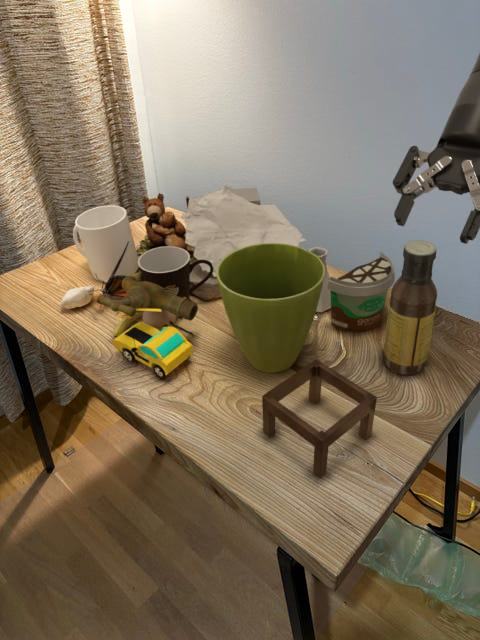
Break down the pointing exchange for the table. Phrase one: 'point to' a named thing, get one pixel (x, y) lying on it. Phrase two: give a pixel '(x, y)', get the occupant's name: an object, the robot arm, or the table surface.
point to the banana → (125, 324)
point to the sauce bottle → (411, 310)
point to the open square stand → (315, 375)
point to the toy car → (154, 346)
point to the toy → (248, 194)
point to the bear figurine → (162, 229)
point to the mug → (106, 241)
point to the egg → (158, 318)
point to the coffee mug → (170, 269)
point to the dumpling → (77, 297)
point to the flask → (325, 293)
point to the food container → (361, 295)
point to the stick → (181, 328)
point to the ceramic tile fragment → (204, 284)
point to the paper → (233, 226)
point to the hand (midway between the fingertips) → (430, 232)
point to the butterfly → (114, 283)
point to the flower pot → (271, 300)
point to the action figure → (149, 299)
